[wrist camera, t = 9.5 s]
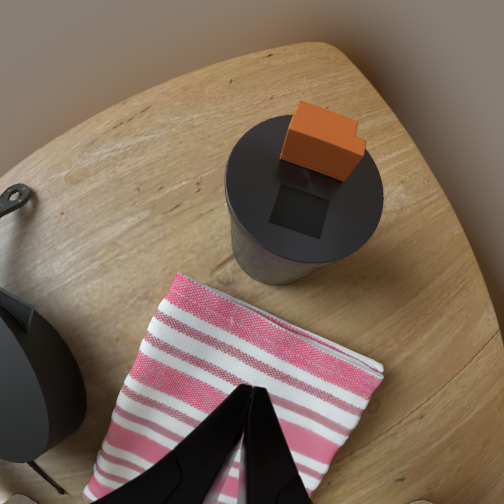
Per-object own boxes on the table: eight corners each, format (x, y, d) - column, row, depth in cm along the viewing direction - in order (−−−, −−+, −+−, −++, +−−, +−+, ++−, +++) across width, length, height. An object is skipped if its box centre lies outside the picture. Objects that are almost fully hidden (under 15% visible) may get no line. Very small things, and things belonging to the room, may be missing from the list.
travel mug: (306, 300, 23) (367, 286, 12) (215, 270, 23) (198, 229, 12) (330, 214, 24) (391, 146, 13) (246, 185, 24) (255, 96, 13)
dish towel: (376, 360, 22) (397, 366, 18) (251, 557, 17) (254, 578, 13) (179, 270, 22) (170, 262, 19) (84, 489, 17) (69, 505, 14)
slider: (343, 182, 13) (364, 156, 10) (279, 159, 13) (288, 128, 10) (355, 125, 13) (373, 96, 11) (298, 105, 13) (307, 72, 11)
